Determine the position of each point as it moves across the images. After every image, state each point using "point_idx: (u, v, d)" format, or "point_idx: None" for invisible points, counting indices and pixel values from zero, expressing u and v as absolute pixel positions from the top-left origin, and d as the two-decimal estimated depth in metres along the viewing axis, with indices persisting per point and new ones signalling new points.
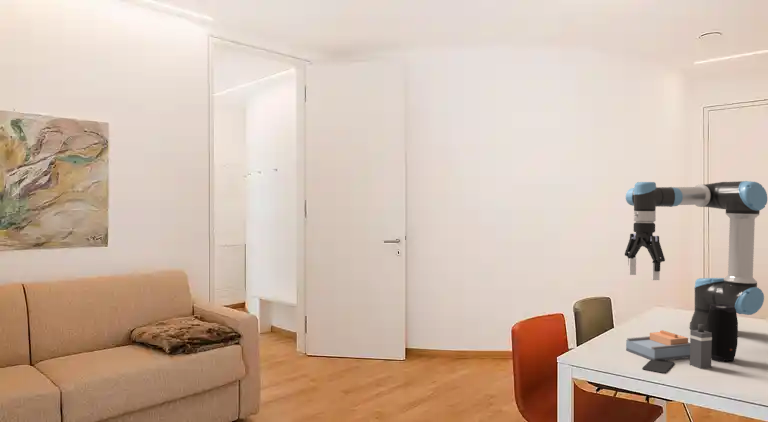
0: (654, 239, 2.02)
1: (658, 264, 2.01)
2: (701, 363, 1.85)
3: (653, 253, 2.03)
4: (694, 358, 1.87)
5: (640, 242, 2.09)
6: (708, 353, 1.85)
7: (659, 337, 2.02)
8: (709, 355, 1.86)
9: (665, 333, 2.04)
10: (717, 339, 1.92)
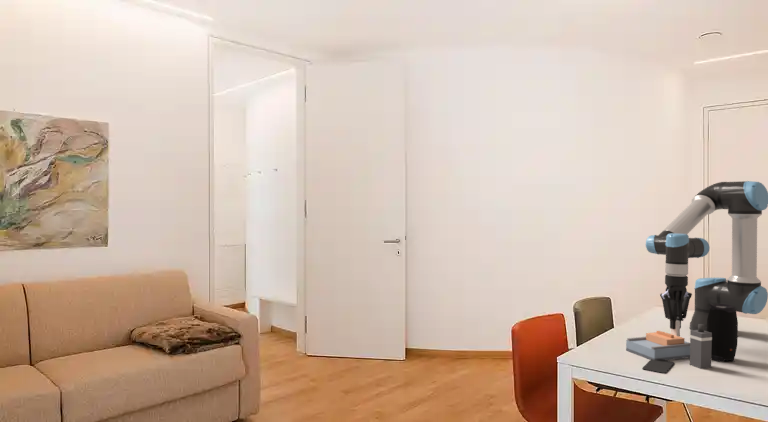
0: (662, 297, 2.03)
1: (671, 321, 2.03)
2: (701, 363, 1.85)
3: None
4: (694, 358, 1.87)
5: None
6: (708, 353, 1.85)
7: (655, 337, 2.02)
8: (709, 355, 1.86)
9: (661, 333, 2.03)
10: (717, 339, 1.92)
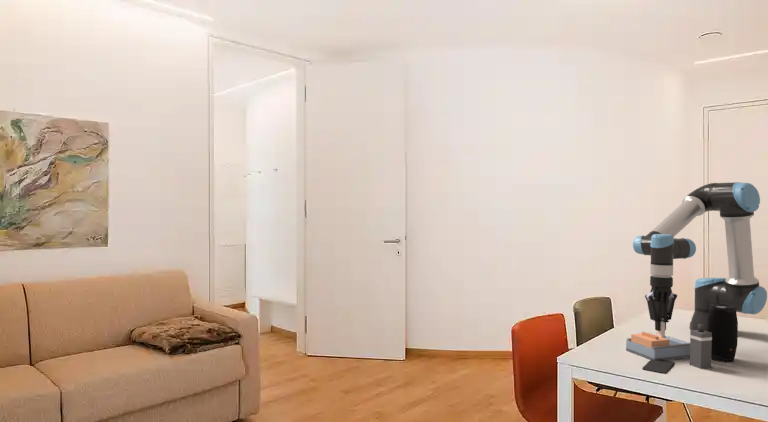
0: (646, 299, 2.01)
1: (656, 323, 2.01)
2: (701, 363, 1.85)
3: None
4: (694, 358, 1.87)
5: None
6: (708, 353, 1.85)
7: (640, 339, 2.00)
8: (709, 355, 1.86)
9: (646, 335, 2.01)
10: (717, 339, 1.92)
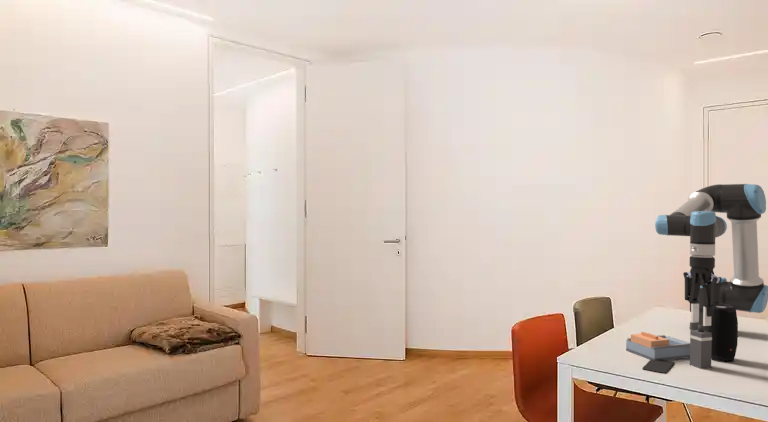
0: (716, 281, 1.80)
1: (711, 308, 1.83)
2: (701, 363, 1.85)
3: (708, 296, 1.83)
4: (694, 358, 1.87)
5: (697, 278, 1.87)
6: (708, 353, 1.85)
7: (640, 339, 2.00)
8: (709, 355, 1.86)
9: (646, 335, 2.01)
10: (717, 339, 1.92)
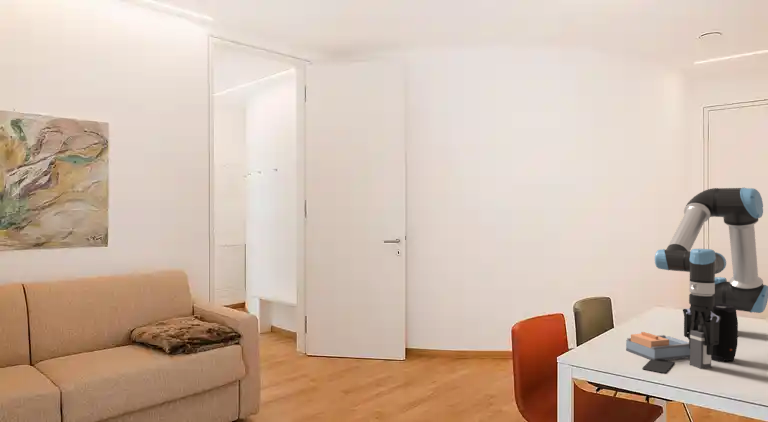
0: (715, 320, 1.81)
1: (711, 347, 1.83)
2: (701, 363, 1.85)
3: (708, 334, 1.84)
4: (694, 358, 1.87)
5: (697, 316, 1.87)
6: None
7: (640, 339, 2.00)
8: None
9: (646, 335, 2.01)
10: None
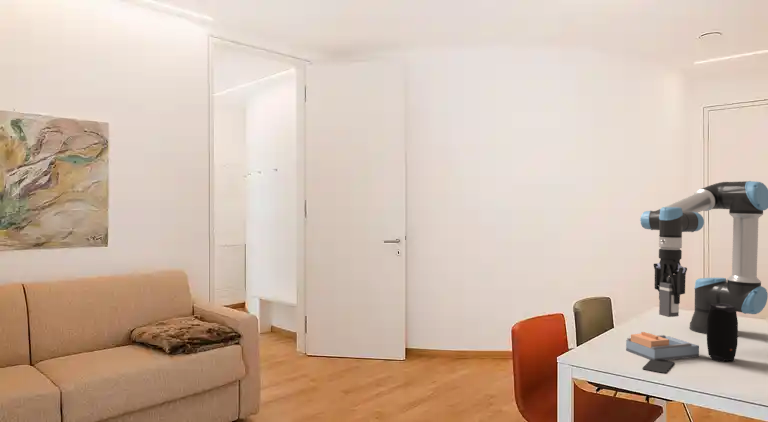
0: (681, 271, 1.96)
1: (678, 296, 1.99)
2: (669, 311, 2.00)
3: (675, 285, 1.99)
4: (663, 307, 2.02)
5: (666, 269, 2.03)
6: None
7: (640, 339, 2.00)
8: None
9: (646, 335, 2.01)
10: (717, 339, 1.92)
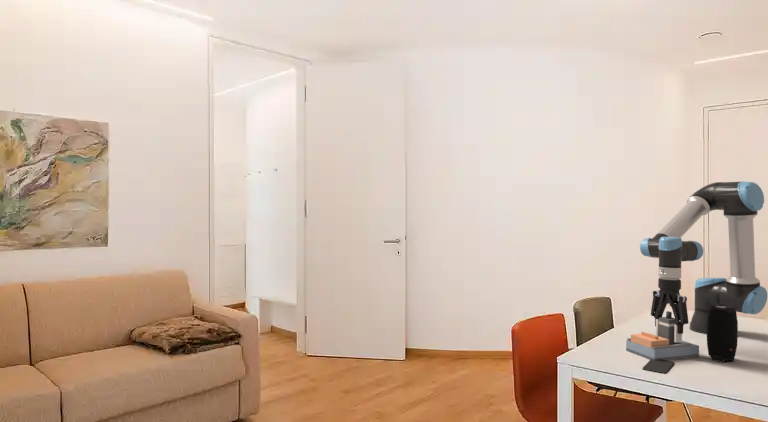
0: (682, 300, 1.96)
1: (681, 326, 1.97)
2: None
3: (677, 314, 1.98)
4: None
5: (665, 299, 2.03)
6: None
7: (640, 339, 2.00)
8: None
9: (646, 335, 2.01)
10: (717, 339, 1.92)
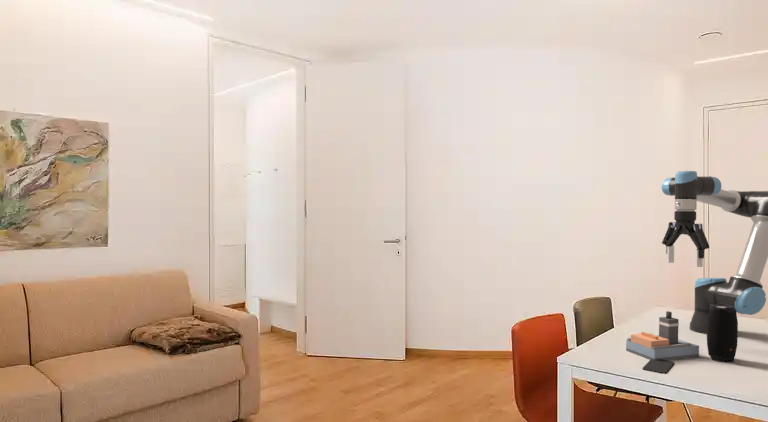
0: (698, 227, 2.06)
1: (702, 251, 2.05)
2: None
3: (696, 240, 2.07)
4: None
5: (681, 230, 2.13)
6: (675, 337, 2.01)
7: (640, 339, 2.00)
8: (676, 340, 2.01)
9: (646, 335, 2.01)
10: (717, 339, 1.92)
